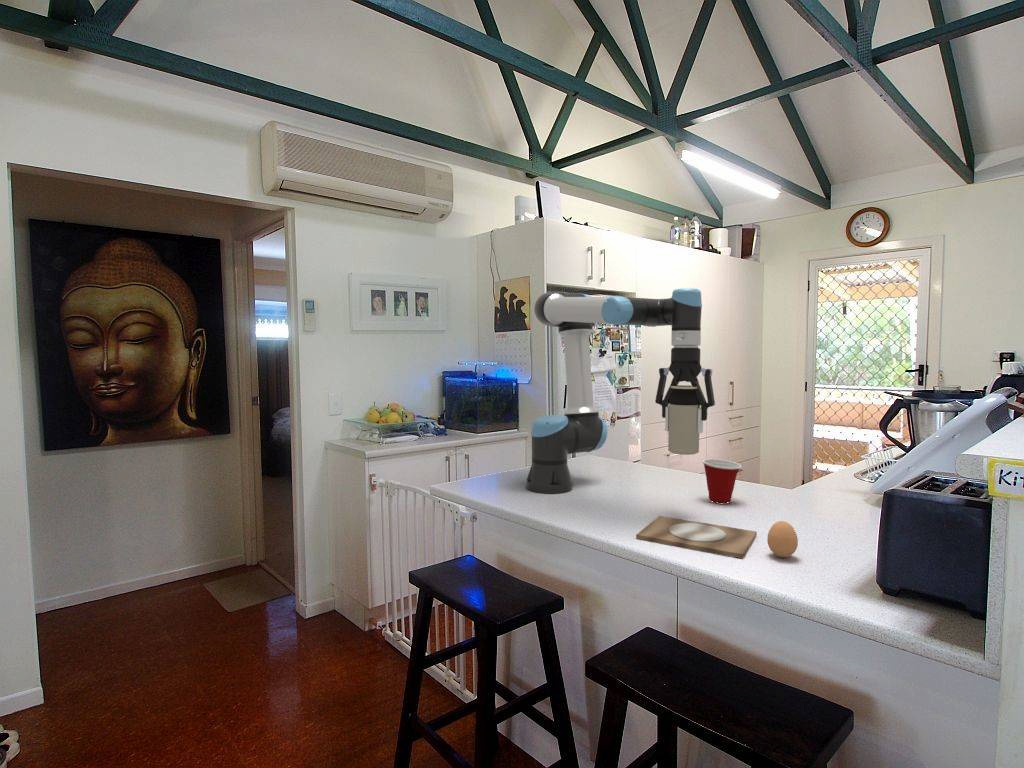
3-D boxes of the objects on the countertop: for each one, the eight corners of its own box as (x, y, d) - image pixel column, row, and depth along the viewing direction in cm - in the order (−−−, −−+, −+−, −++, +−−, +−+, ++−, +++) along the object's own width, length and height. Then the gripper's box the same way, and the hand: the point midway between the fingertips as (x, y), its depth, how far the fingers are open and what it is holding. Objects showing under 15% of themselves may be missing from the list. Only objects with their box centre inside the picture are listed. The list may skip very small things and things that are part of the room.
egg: (783, 563, 119) (784, 527, 118) (760, 554, 124) (761, 519, 124) (803, 559, 121) (804, 523, 121) (780, 550, 127) (781, 515, 126)
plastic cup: (734, 509, 159) (735, 467, 158) (696, 502, 166) (697, 462, 165) (744, 500, 168) (745, 461, 167) (708, 495, 174) (709, 457, 174)
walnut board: (636, 538, 134) (636, 532, 134) (659, 519, 149) (659, 514, 149) (742, 558, 121) (743, 552, 121) (756, 535, 136) (756, 529, 136)
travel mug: (667, 453, 149) (668, 386, 148) (669, 448, 157) (670, 384, 156) (698, 455, 147) (700, 387, 145) (699, 450, 154) (700, 385, 153)
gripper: (643, 346, 152) (642, 429, 154) (723, 347, 141) (721, 436, 143) (652, 347, 159) (650, 426, 160) (729, 347, 148) (727, 432, 149)
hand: (683, 431), depth 151 cm, fingers closed on travel mug, 8 cm apart
